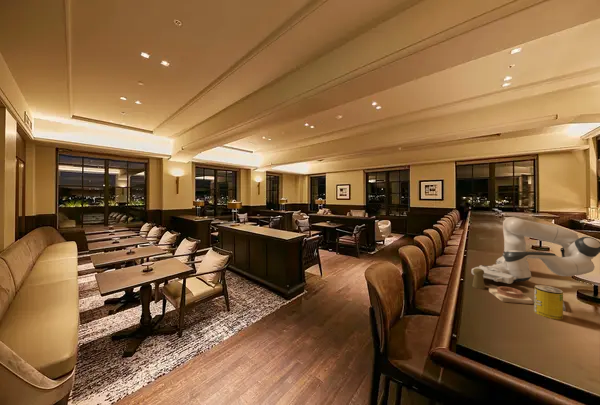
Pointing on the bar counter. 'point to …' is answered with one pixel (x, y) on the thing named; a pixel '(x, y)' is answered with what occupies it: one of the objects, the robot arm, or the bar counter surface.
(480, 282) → the cork
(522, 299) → the square base with ring
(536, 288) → the yellow can
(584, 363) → the bar counter surface
